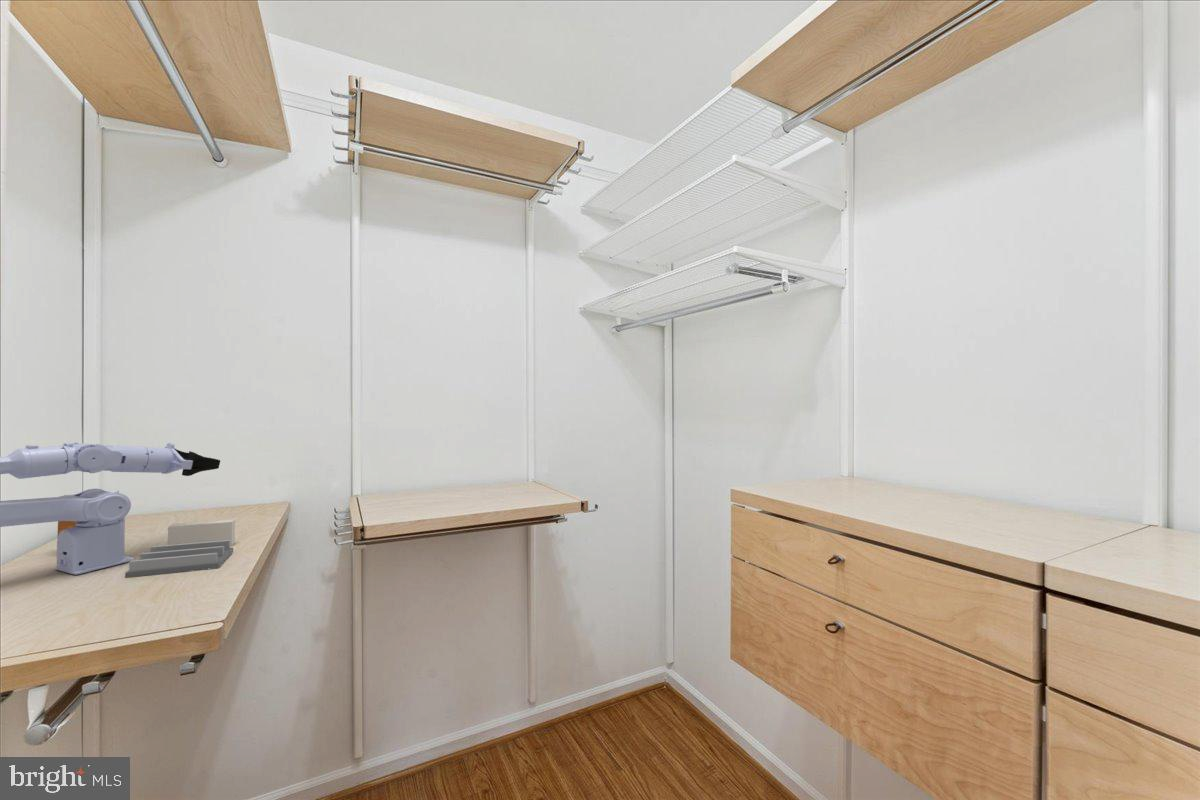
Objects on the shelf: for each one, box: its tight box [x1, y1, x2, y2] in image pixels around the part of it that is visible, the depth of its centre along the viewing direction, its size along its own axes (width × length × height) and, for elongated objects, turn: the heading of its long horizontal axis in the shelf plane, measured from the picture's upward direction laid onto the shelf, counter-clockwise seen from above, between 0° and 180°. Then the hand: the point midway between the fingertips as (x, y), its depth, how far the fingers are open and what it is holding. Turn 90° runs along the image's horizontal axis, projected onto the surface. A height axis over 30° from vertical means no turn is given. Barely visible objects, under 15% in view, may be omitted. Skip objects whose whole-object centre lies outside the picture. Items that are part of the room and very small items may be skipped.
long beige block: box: [167, 519, 236, 547], centre depth 114 cm, size 12×3×6 cm, turn 115°
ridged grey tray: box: [124, 540, 234, 579], centre depth 103 cm, size 15×11×3 cm
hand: (209, 462), depth 120 cm, fingers open, 7 cm apart
